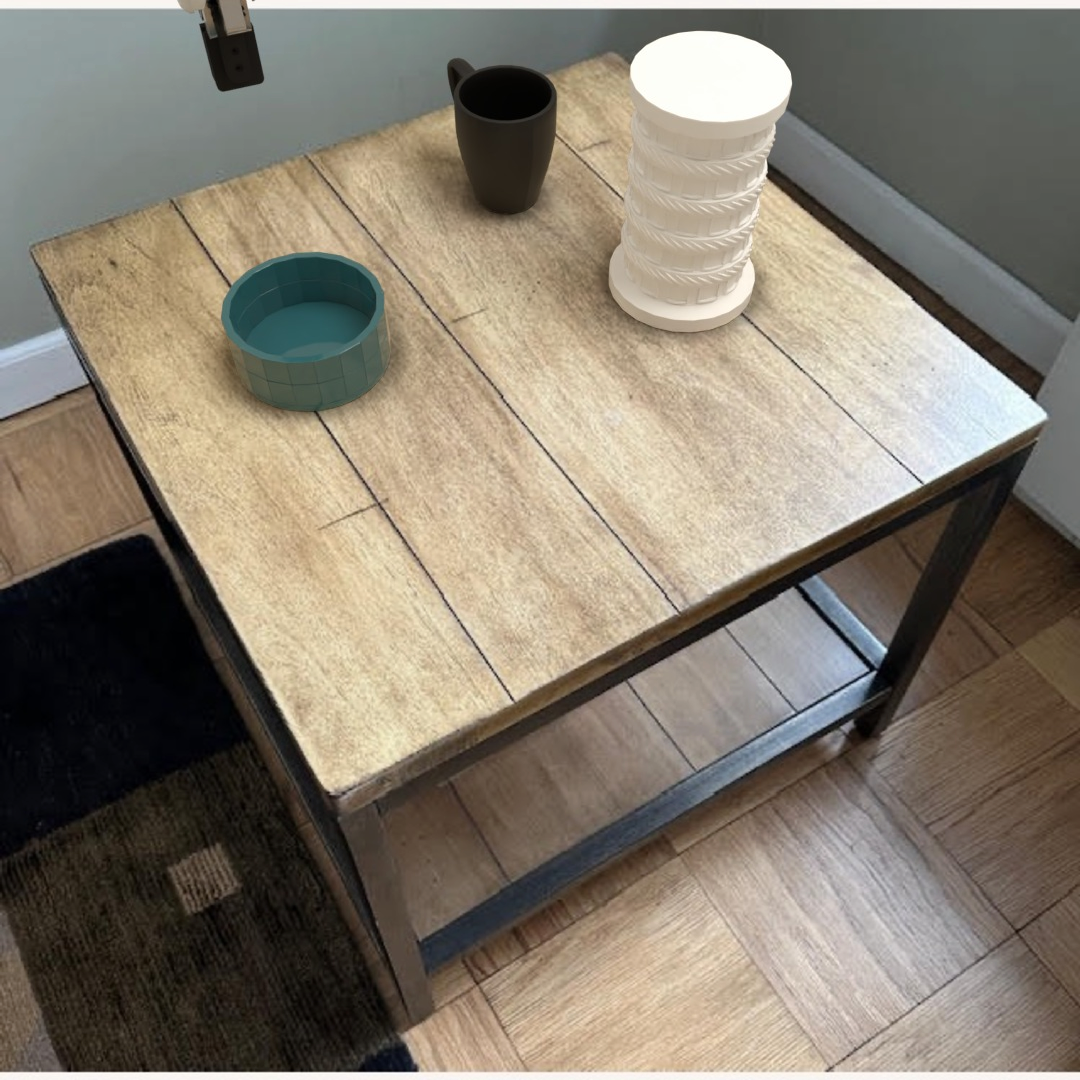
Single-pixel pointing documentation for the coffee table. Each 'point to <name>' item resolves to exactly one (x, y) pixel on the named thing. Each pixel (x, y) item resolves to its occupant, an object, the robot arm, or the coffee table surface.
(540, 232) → the coffee table surface
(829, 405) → the coffee table surface
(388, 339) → the bowl
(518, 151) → the mug
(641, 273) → the decorative container
